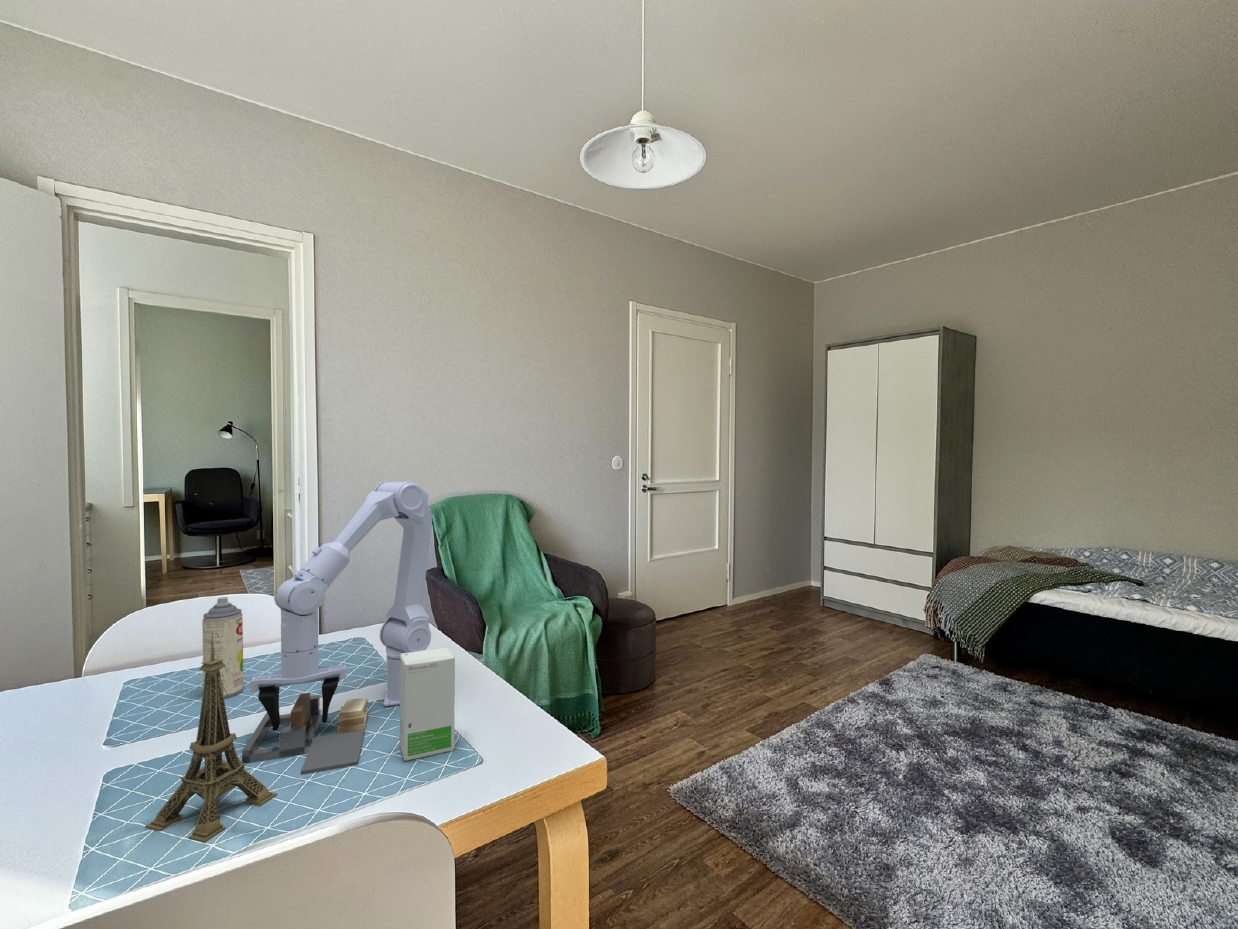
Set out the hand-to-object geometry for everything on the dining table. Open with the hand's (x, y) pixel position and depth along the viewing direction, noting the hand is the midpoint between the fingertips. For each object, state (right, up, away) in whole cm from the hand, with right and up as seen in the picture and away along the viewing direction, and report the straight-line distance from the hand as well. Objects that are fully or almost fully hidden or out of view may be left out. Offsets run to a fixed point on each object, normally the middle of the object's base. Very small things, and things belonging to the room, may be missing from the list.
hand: (300, 724), depth 99 cm
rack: (-2, -2, -1) cm, 3 cm away
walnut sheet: (0, -2, 0) cm, 2 cm away
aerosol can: (-27, -2, +18) cm, 32 cm away
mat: (+9, -2, -6) cm, 11 cm away
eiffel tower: (0, -2, -21) cm, 21 cm away
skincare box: (+24, -2, -4) cm, 24 cm away
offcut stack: (+7, -2, +4) cm, 9 cm away
